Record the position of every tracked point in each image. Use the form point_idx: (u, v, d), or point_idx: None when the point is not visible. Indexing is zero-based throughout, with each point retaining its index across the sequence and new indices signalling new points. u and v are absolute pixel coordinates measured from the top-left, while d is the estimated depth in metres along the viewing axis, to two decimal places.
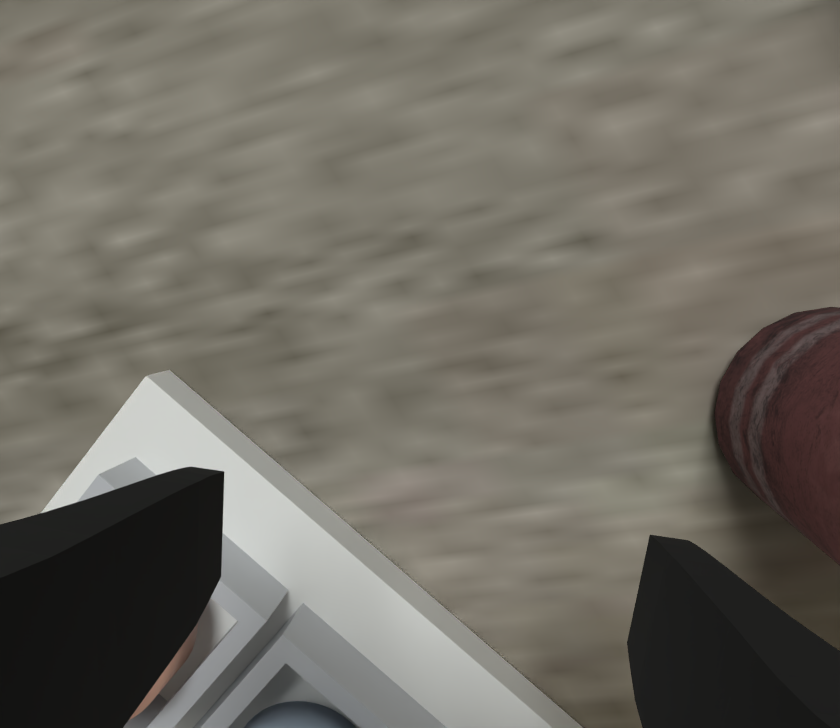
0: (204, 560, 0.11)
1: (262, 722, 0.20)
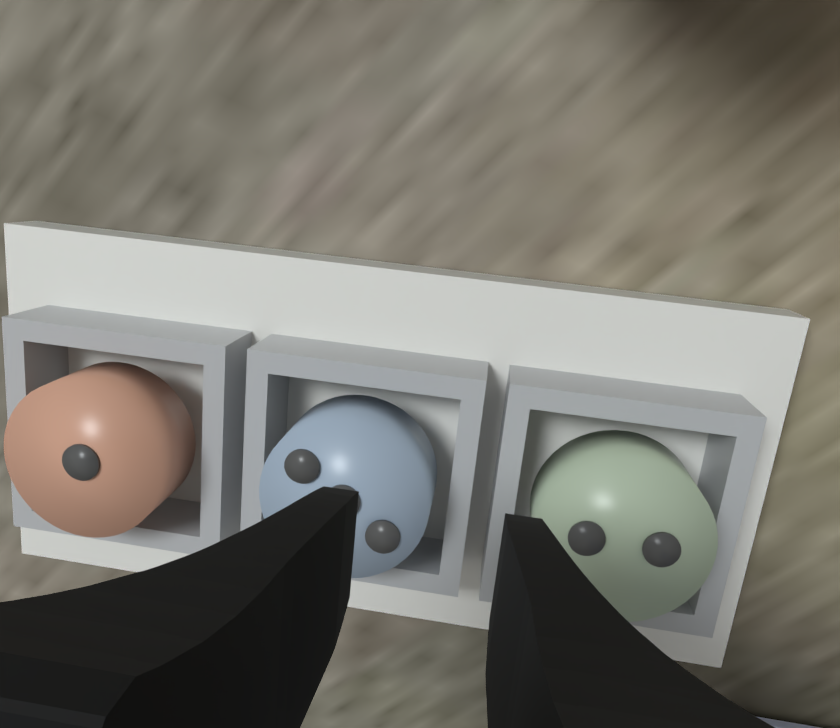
0: (342, 582, 0.11)
1: None
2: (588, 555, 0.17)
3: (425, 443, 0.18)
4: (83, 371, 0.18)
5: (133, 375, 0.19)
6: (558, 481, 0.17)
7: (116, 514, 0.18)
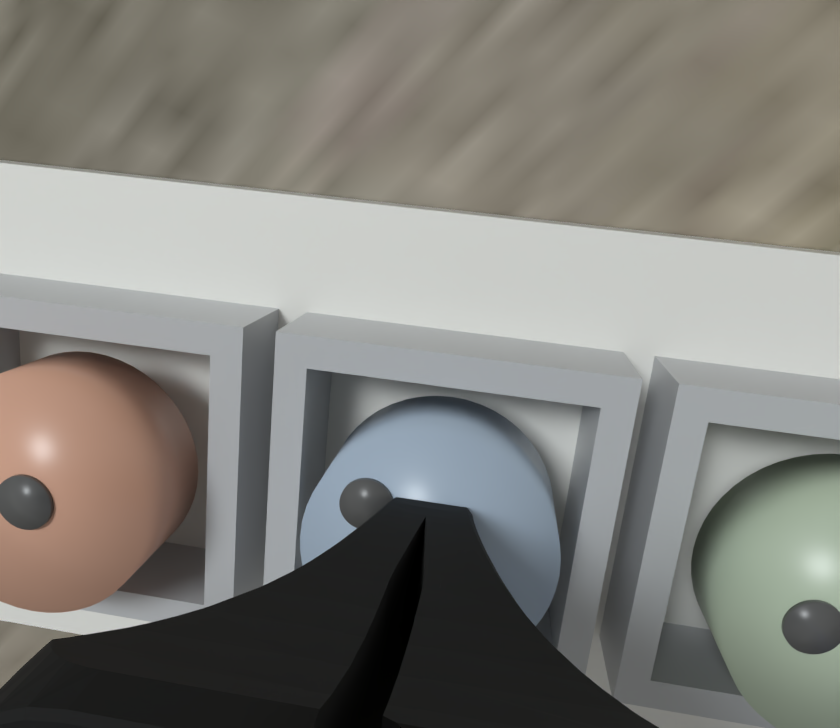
0: None
1: None
2: (816, 654, 0.11)
3: (542, 467, 0.12)
4: (31, 365, 0.12)
5: (106, 370, 0.13)
6: (770, 537, 0.11)
7: (79, 580, 0.12)
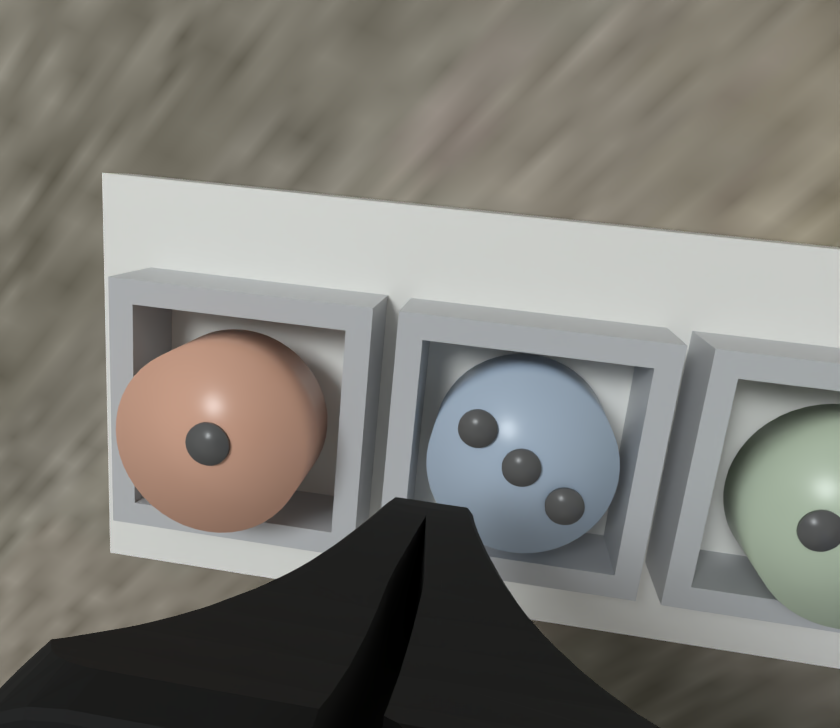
0: None
1: (443, 402, 0.17)
2: (823, 551, 0.14)
3: (601, 405, 0.17)
4: (206, 338, 0.16)
5: (262, 343, 0.16)
6: (787, 462, 0.14)
7: (246, 505, 0.16)
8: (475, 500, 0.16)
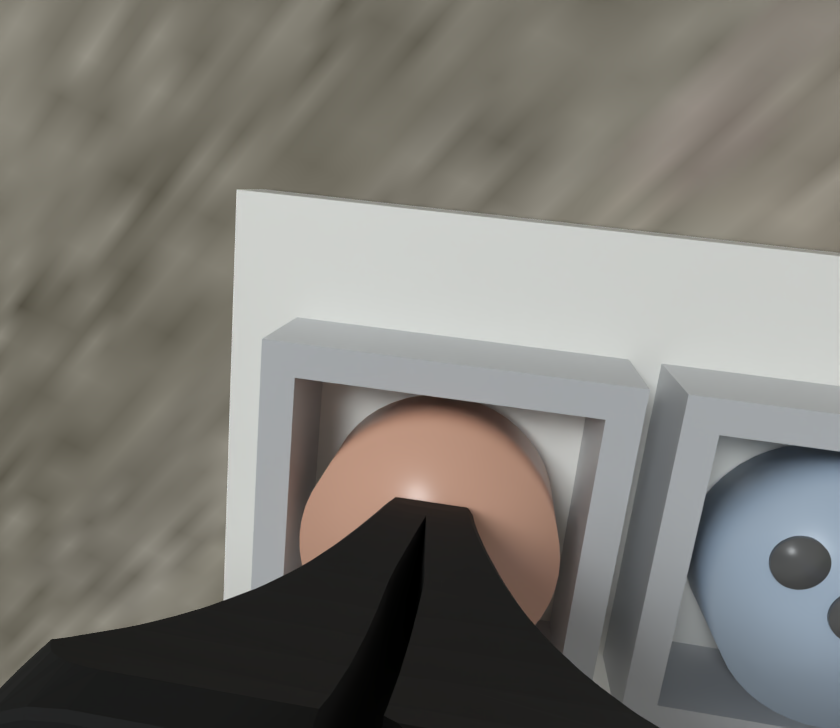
0: None
1: (719, 512, 0.12)
2: None
3: None
4: (415, 412, 0.12)
5: (485, 416, 0.12)
6: None
7: None
8: (781, 658, 0.11)
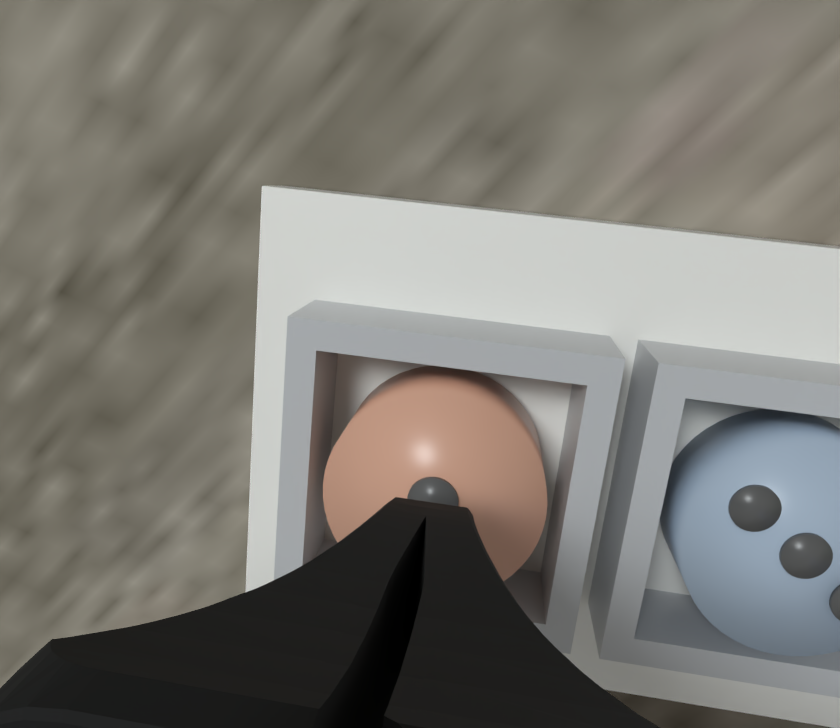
0: None
1: (688, 469, 0.14)
2: None
3: None
4: (423, 378, 0.14)
5: (482, 383, 0.14)
6: None
7: None
8: (740, 593, 0.13)
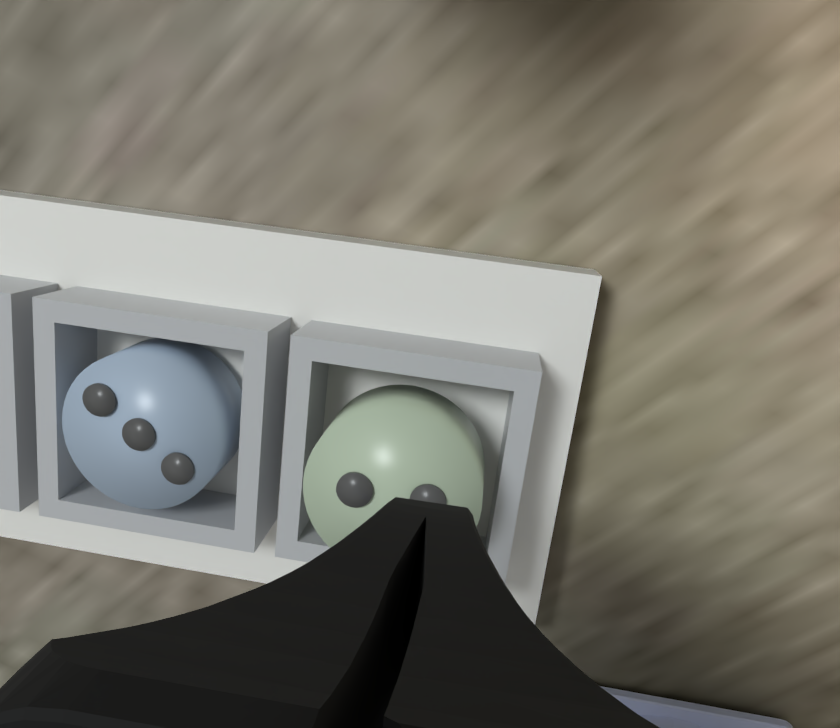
0: None
1: None
2: (357, 507, 0.17)
3: (229, 383, 0.19)
4: None
5: None
6: (325, 431, 0.17)
7: None
8: (106, 462, 0.19)
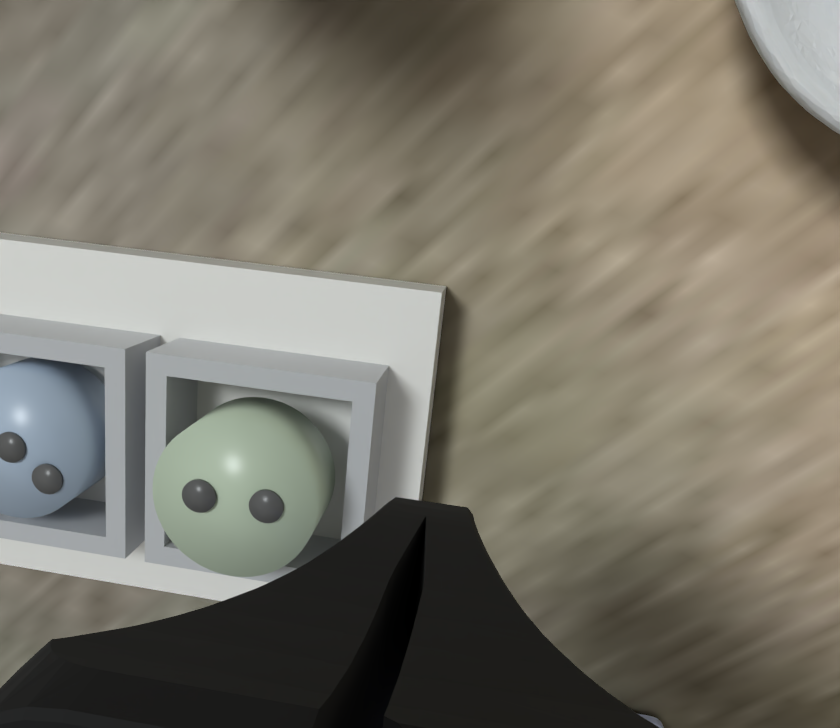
0: None
1: None
2: (202, 512, 0.18)
3: (101, 398, 0.21)
4: None
5: None
6: (171, 441, 0.18)
7: None
8: None
